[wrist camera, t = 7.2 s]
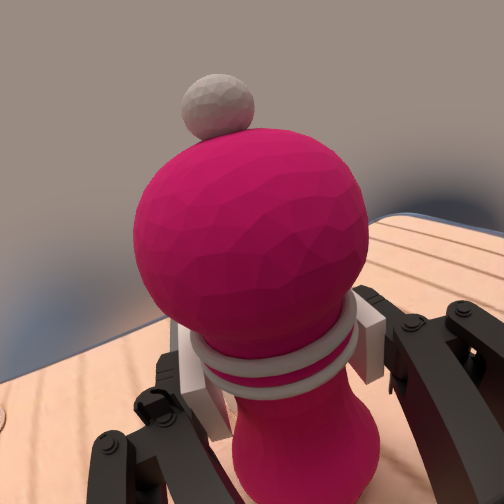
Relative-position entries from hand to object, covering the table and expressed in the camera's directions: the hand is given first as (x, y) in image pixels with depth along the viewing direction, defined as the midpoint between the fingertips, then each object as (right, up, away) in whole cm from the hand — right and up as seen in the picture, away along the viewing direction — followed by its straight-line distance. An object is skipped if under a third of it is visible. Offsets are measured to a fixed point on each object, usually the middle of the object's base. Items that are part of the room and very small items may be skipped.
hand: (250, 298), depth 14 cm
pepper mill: (+4, -12, -1) cm, 12 cm away
